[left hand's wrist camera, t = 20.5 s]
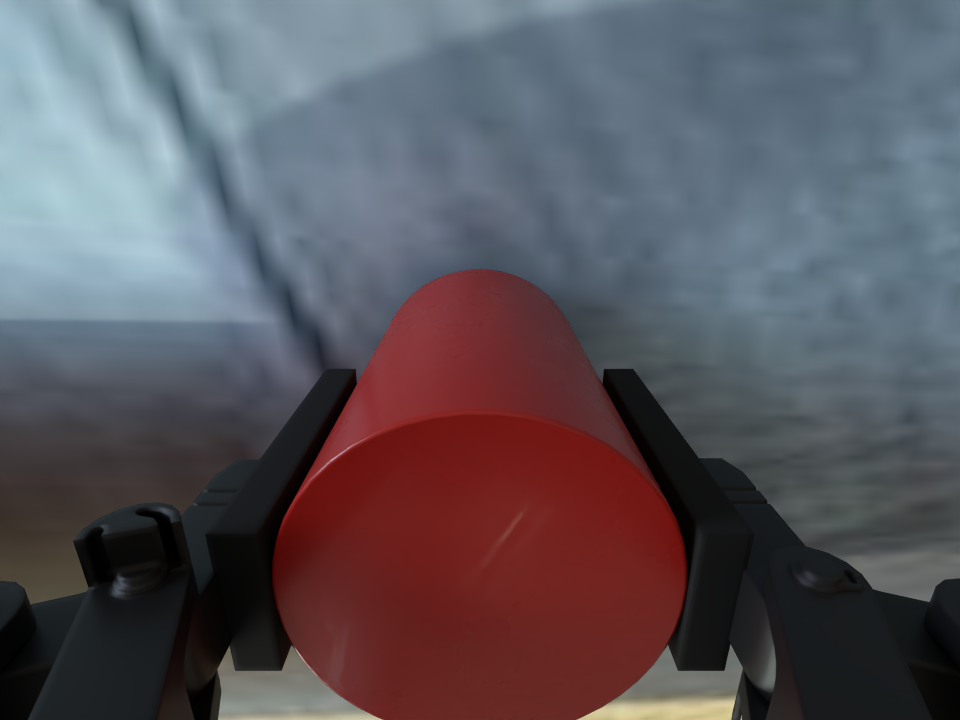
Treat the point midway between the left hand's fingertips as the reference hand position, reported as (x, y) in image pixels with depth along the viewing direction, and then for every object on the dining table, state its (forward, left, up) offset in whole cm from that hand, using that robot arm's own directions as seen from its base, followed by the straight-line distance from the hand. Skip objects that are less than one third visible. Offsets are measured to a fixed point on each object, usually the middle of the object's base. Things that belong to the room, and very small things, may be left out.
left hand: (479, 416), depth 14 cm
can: (0, 0, -4) cm, 4 cm away
